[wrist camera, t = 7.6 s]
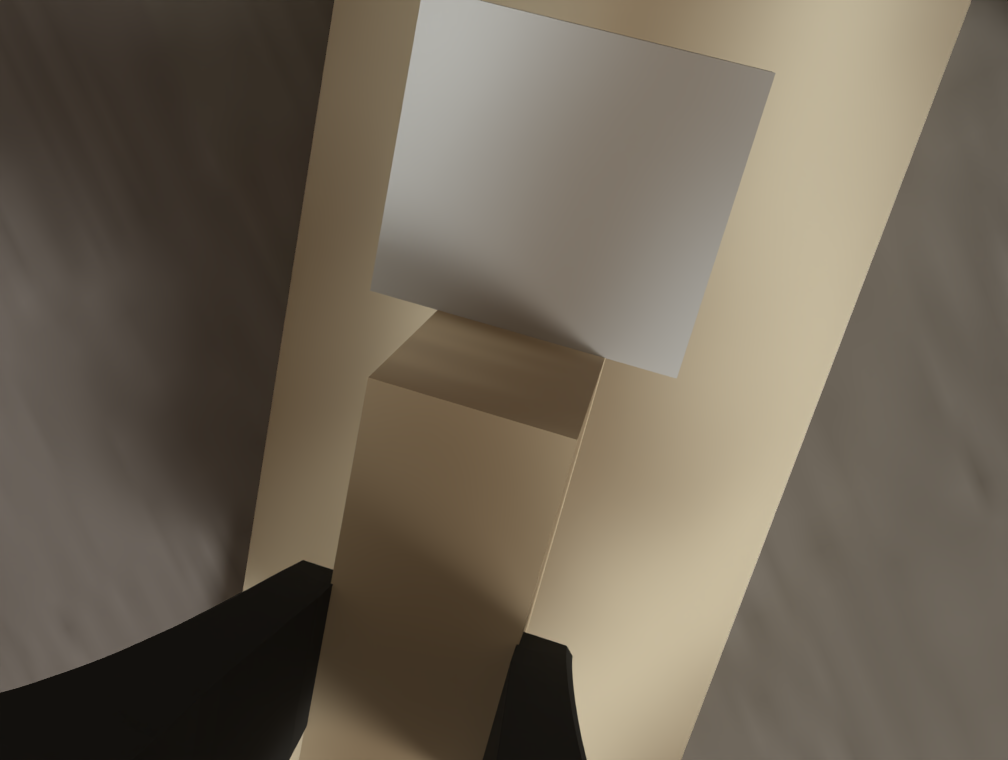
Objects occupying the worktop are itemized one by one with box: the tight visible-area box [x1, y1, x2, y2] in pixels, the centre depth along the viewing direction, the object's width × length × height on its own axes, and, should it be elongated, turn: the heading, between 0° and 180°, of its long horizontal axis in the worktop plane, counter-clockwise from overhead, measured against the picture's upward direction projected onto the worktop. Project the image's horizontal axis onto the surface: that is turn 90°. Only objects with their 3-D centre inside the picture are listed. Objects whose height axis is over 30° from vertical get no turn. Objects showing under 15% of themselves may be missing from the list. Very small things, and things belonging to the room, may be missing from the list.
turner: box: [299, 0, 775, 760], centre depth 13 cm, size 4×14×4 cm, turn 167°
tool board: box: [243, 0, 971, 760], centre depth 19 cm, size 10×22×1 cm, turn 167°
